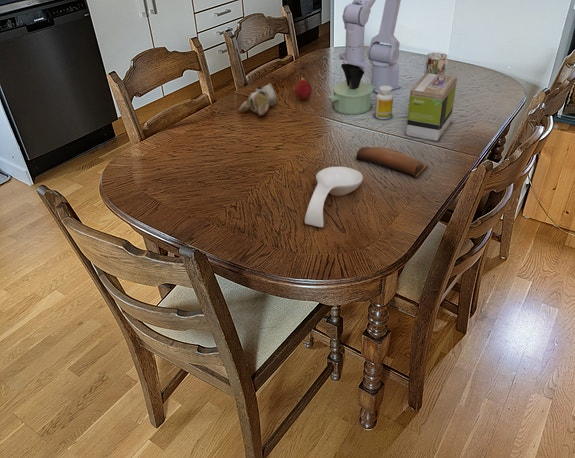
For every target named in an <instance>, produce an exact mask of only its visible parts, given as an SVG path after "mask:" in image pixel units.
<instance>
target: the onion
mask: <svg viewBox="0 0 575 458" xmlns="http://www.w3.org/2000/svg"><path fill="white" fill-rule="evenodd" d="M294 92H295V94H296V97H298V98H299V99H300V100H301V101H306V100H307V99H309V97H311V95H312V92H313V88H312V85H311V83H309V81H308V80H306V79H305V78H303V77H301V78H300V80H299V81H298V82H297V84H296V85H295V89H294Z"/></svg>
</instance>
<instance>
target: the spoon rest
mask: <svg viewBox="0 0 575 458" xmlns="http://www.w3.org/2000/svg"><path fill="white" fill-rule="evenodd" d="M315 179H316V182H317V184H316V186H315V188H314V190H313V193H312V195H311V198H310V200H309V202H308V205H307V209H306V212H305V216H304V224H305V225H309V226H313V227H317V228H324V226H325V225H324V224H325V222H324V221H325V220H324V205H325V202H326V199H327V197H328V195H329V194H330V195H332V196H335V197H336V196H337V197H341V196H346V195H348V194H350V193H352V192H354V191H355V190H356V189H358V188H359V187H360V186H361V184H362V183H363V180H364V176H363V174H362V173H361V172H360V170H359V171H358V170H357V169H355V168H351V167H347V166H329V167H325V168H323V169H321V170H319V171H318V172H317V173H316V175H315Z"/></svg>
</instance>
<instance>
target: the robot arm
mask: <svg viewBox="0 0 575 458" xmlns="http://www.w3.org/2000/svg"><path fill="white" fill-rule="evenodd" d="M376 1H377V0H353V1H352V2H351V3H348V4H347V5H346V6H345V7H344V9H343V11H342V15H341V16H342V22H343V29H344V30H345V46H344V47H345V49H344V51H345V52H340V53H339V54H338V60H340V61H342V63H341V64H340V67H341V69H342V71H343V73H344V77H345V81H347V86H349V82H350V77H351V78H352V88H353V89H356V88H359V85H360V81H361V82H362V78H363V76H364V74H365V72H369V71H370V69H371V73H370V74H371V75H370V83H369V84H370V85H373V86H375V87H376V90H374V91H373V92H375V93H377V94H378V93H379V87H381V86H390V87H392V91H393V90H396V89H399V88H400V86H399V77H400V67H399V64H398V62H397V61H398V59H399V57H400V45H401V43H400V41H399V39H398V38H396V36H395V32H396V31H395V30H396V26H397V20H398V17H399V12H400V6H401V2H402V0H385V1H384V6H383V11H382V17H381V21H380V27H379V31H378V32H379V33H378V34H377V35H375V36H373V37H372V38H371V39H370V43H369V46H368V48H367V54H366V56H367V60H368V61H370V62H369V63H368V62H367V61H366V60H365V58H364V47H365V29H366V28H365V27H366V24H367V23H368V21H369V18H370V14H371V9H372V7H373V5H374V4H375V2H376Z"/></svg>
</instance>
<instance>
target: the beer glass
mask: <svg viewBox="0 0 575 458" xmlns="http://www.w3.org/2000/svg"><path fill="white" fill-rule="evenodd" d="M447 66H448V55H447V54H446V53H443V52H430V53H428V54H427V55H426V59H425V63H424V69H423V70H424V71H423V76H424V75H425V74H426V73H429V74H437V75H445V76H446V72H447Z"/></svg>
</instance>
